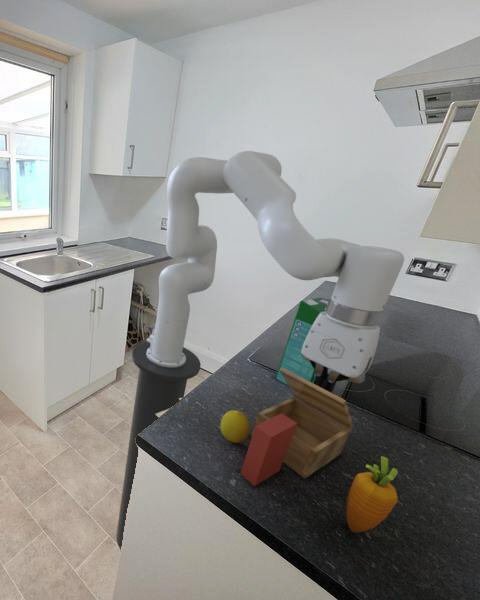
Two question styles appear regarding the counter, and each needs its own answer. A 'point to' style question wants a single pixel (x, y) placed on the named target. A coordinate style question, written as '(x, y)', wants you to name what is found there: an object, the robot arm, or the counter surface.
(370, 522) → the carrot
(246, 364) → the counter surface
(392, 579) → the counter surface
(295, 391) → the wooden slab
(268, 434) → the brick
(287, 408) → the chest
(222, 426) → the lemon
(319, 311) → the milk carton
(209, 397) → the counter surface
